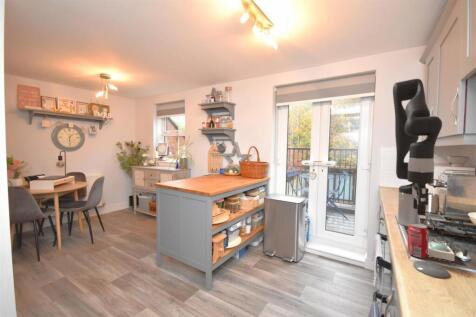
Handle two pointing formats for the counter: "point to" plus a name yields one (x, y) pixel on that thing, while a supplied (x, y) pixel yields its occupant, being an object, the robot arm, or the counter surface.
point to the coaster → (431, 269)
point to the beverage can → (418, 240)
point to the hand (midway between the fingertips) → (418, 211)
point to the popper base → (441, 253)
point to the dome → (439, 246)
